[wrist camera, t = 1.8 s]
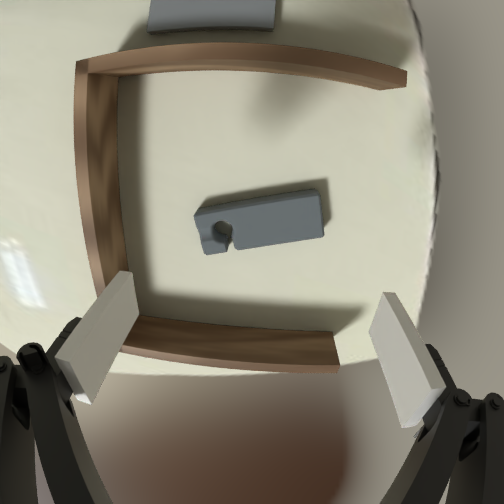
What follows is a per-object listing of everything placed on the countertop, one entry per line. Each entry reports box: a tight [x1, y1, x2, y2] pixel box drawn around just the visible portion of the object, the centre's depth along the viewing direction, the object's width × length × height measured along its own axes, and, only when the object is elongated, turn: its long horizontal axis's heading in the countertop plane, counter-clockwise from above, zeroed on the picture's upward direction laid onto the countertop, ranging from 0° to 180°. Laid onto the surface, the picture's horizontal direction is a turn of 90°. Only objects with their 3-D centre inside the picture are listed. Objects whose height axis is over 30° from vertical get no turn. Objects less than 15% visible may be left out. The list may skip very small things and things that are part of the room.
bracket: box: [194, 189, 324, 255], centre depth 25 cm, size 4×10×2 cm, turn 101°
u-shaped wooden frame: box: [74, 42, 407, 373], centre depth 23 cm, size 27×23×5 cm
